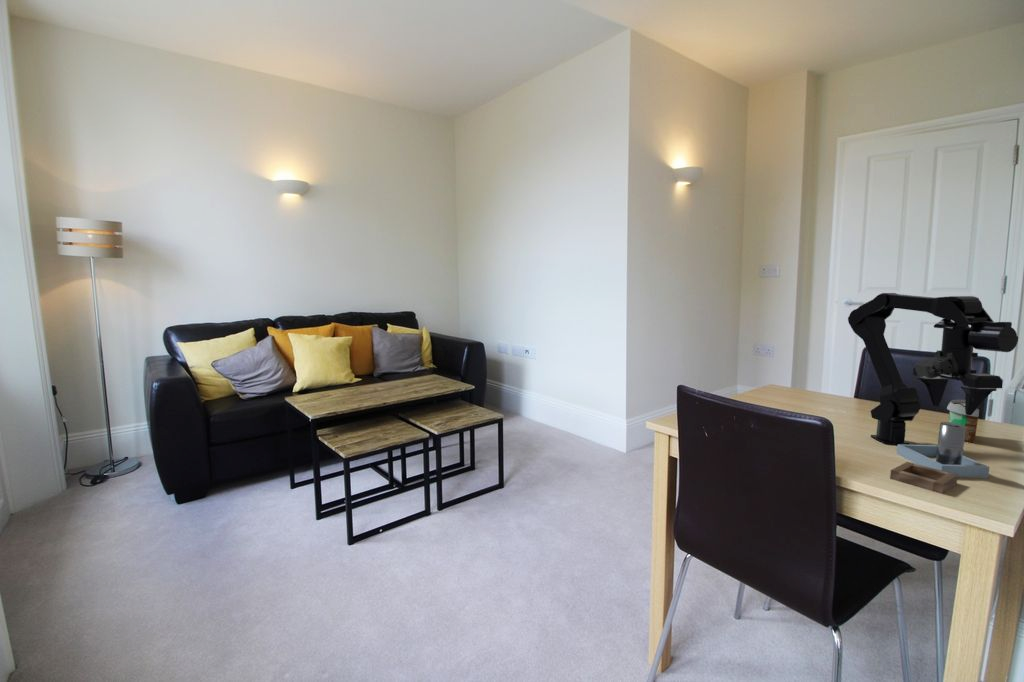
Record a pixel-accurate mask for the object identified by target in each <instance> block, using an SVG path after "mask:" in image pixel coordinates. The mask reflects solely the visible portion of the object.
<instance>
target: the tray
mask: <svg viewBox="0 0 1024 682" xmlns="http://www.w3.org/2000/svg"><path fill="white" fill-rule="evenodd" d="M937 446H938V444H937V445H936V444H909V445H907V444H897V446H896V447H897V448H896V455H898V456H900V457H902V458H903V459H906V460H908V462H909V461H910V463H914V464H918V465H922V466H926V467H929V468H933V469H937V470H941V471H945V472H948V473H952V474H956V475H958V477H957V478H978V479H979V478H983V479H985V478H986V479H988V478H989V474H990V473H989V472H990V466H988V465H986V464H984V463H981V462H979V461H977V460H975V459H972V458H969V457H967V456H965V455H963V454H962V462H961V465H944V464H941V463H939V462H937V461H936V459H933V458H930V457H936V454H937Z"/></svg>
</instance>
